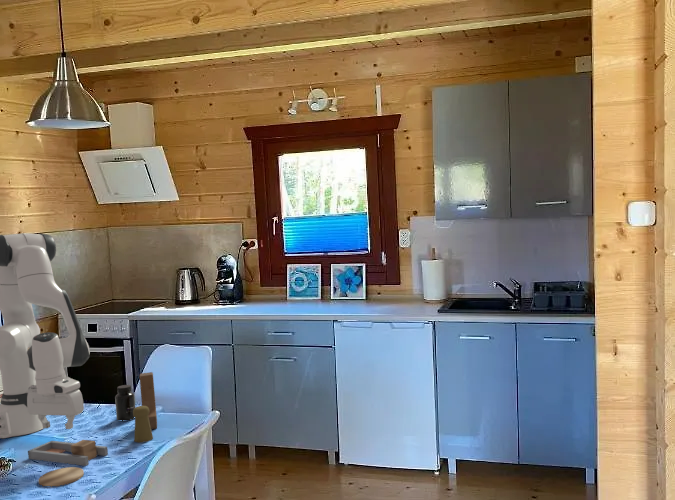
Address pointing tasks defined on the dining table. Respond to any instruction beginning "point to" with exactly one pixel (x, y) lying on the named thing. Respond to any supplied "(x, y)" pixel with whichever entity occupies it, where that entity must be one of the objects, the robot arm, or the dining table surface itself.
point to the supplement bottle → (124, 403)
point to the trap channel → (61, 453)
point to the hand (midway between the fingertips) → (57, 428)
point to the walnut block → (84, 449)
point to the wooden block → (148, 397)
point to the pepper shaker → (142, 424)
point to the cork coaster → (61, 476)
